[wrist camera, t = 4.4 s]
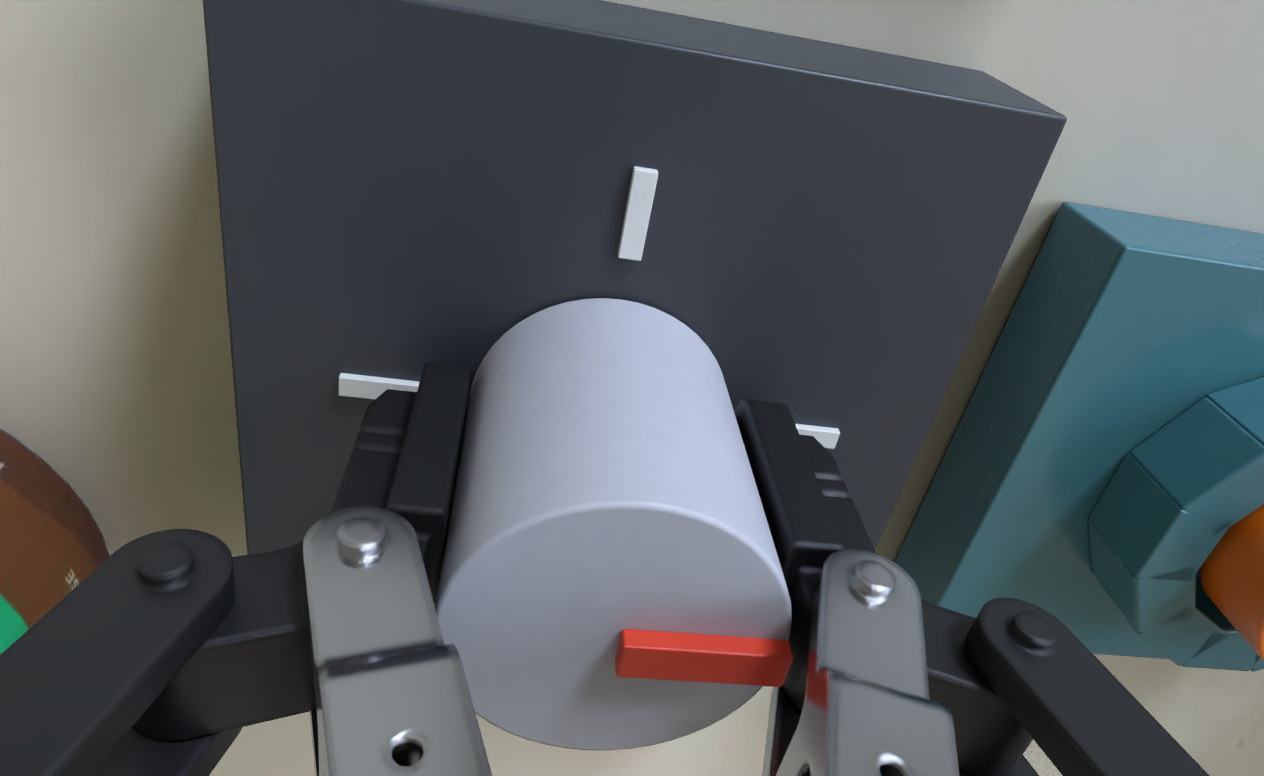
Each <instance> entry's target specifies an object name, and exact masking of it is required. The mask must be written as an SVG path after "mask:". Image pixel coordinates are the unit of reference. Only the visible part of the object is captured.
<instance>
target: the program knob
mask: <svg viewBox="0 0 1264 776" xmlns="http://www.w3.org/2000/svg"><path fill="white" fill-rule="evenodd" d="M435 610H436V614H437V618H438V622H439V626H440V630H441V634H442V637H443V641H444V643H445V644H451V643H453V644H454V645H455V646H456V648H457V650H458V653H459V655H460V658H461V662H462V665H463V669H464V673H465V677H466V680H467V684H468V688H469V691H470V695H471V699H472V703H473V706H474V710H475V713H476V714H477V715H479V716H480V717H482V718H483V719H485V720H486V721H488V722H490V723H491V724H493V725H495V726H497V727H499V728H501V729H503V730H505V731H507V732H509V733H511V734H514V735H517V736H519V737H522V738H525V739H527V740H531V741H535V742H539V743H542V744H546V745H551V746H557V747H563V748H570V749H581V750H618V749H631V748H637V747H644V746H650V745H654V744H658V743H663V742H667V741H671V740H674V739H677V738H680V737H683V736H686V735H689V734H692V733H694V732H696V731H699V730H701V729H703V728H706V727H708V726H710V725H712V724H714V723H715V722H717V721H719V720H721V719H723V718H725V717H726V716H728V715H729V714H731V713H732V712H734V711H735V710H737V709H738V708H740V707H741V706H742V705H743V704H745V703H746V702H747V701H748V700H749V699H750V698H752V697H753V696H754V695H755V694H756V693H757V692H758V691H759V690H760V689H761V688H762V687H763V686H772V687H781V686H782V685H783V683H784V680H785V678H786V675H787V673H788V671H789V668H790V666H791V663H792V661H793V654H792V651H791V647H790V644H789V641H788V640H789V636H790V630H791V622H792V610H791V600H790V596H789V592H788V589H787V585H786V582H785V578H784V575H783V572H782V568H781V565H780V562H779V558H778V555H777V552H776V549H775V545H774V542H773V539H772V535H771V532H770V529H769V526H768V522H767V519H766V516H765V512H764V509H763V506H762V502H761V499H760V496H759V493H758V489H757V486H756V483H755V479H754V476H753V473H752V469H751V466H750V463H749V460H748V456H747V453H746V450H745V446H744V443H743V440H742V437H741V433H740V430H739V427H738V423H737V420H736V417H735V413H734V410H733V407H732V404H731V400H730V397H729V394H728V390H727V387H726V384H725V380H724V377H723V374H722V371H721V369H720V367H719V365H718V362H717V360H716V358H715V357H714V355H713V354H712V352H711V351H710V349H709V348H708V346H707V345H706V344H705V343H704V342H703V341H702V339H701V338H700V337H699V336H698V335H697V334H696V333H695V332H693V331H692V330H691V329H690V328H689V327H688V326H686V325H685V324H684V323H682V322H680V321H679V320H677V319H676V318H674V317H673V316H671V315H669V314H667V313H664V312H662V311H660V310H658V309H656V308H653V307H650V306H647V305H644V304H641V303H637V302H632V301H627V300H622V299H608V298H595V299H582V300H576V301H570V302H565V303H562V304H558V305H555V306H552V307H549V308H546V309H544V310H542V311H539V312H537V313H535V314H533V315H531V316H529V317H528V318H526V319H524V320H522V321H521V322H519V323H517V324H516V325H515V326H514V327H512V328H511V329H510V330H508V331H507V332H506V333H505V334H504V335H503V336H502V337H501V338H500V339H499V340H498V341H497V342H496V343H495V344H494V345H493V346H492V347H491V349H490V350H489V351H488V353H487V354H486V356H485V357H484V358H483V360H482V362H481V364H480V366H479V368H478V370H477V372H476V374H475V377H474V380H473V383H472V386H471V392H470V398H469V404H468V410H467V416H466V422H465V428H464V434H463V440H462V446H461V452H460V458H459V464H458V470H457V476H456V482H455V488H454V494H453V500H452V506H451V512H450V518H449V524H448V530H447V536H446V542H445V548H444V554H443V560H442V566H441V572H440V578H439V584H438V590H437V596H436V602H435Z"/></svg>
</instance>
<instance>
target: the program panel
mask: <svg viewBox="0 0 1264 776" xmlns="http://www.w3.org/2000/svg"><path fill="white" fill-rule="evenodd" d="M203 7H204V20H205V32H206V44H207V57H208V69H209V82H210V94H211V106H212V119H213V131H214V144H215V156H216V168H217V181H218V193H219V205H220V218H221V230H222V243H223V255H224V267H225V280H226V292H227V305H228V317H229V329H230V342H231V354H232V366H233V379H234V391H235V404H236V416H237V428H238V441H239V453H240V466H241V478H242V490H243V503H244V515H245V527H246V540H247V552H248V555H251V554H257V553H264V552H270V551H275V550H280V549H283V548H286V547H290V546H292V545H295V544H297V543H299V542H301V541H303V540H304V538H305V535H306V534H307V532H308V530H309V529H310V528H311V527H312V525H313V524H314V523H316V522H317V521H318V520H319V519H321V518H322V517H324V516H326V515H327V514H330V513H331V511H332V508H333V505H334V502H335V499H336V496H337V493H338V491H339V488H340V485H341V482H342V479H343V476H344V473H345V470H346V467H347V464H348V461H349V458H350V455H351V453H352V450H353V449H354V444H355V441H356V438H357V435H358V432H360V426H361V423H362V420H363V418H364V415H365V412H366V409H367V406H368V405H369V404H371V403H372V402H373V401H374V400H375V399H376V398H378V397H379V396H380V395H381V394H382V393H383V392H385V391H386V390H387V389H391V390H401V391H410V392H417V390H418V386H419V382H420V379H421V375H422V371H423V367H424V364H425V362H429V363H437V364H446V365H455V366H464V367H471V374H470V386H469V397H468V404H469V398H470V392H471V386H472V383H473V380H474V377H475V374H476V372H477V370H478V368H479V366H480V364H481V362H482V360H483V358H484V357H485V356H486V354H487V353H488V351H489V350H490V349H491V347H492V346H493V345H494V344H495V343H496V342H497V341H498V340H499V339H500V338H501V337H502V336H503V335H504V334H505V333H506V332H507V331H508V330H510V329H511V328H512V327H514V326H515V325H516V324H517V323H519V322H521V321H522V320H524V319H526V318H528V317H529V316H531V315H533V314H535V313H537V312H539V311H542V310H544V309H546V308H549V307H552V306H555V305H558V304H562V303H565V302H570V301H576V300H582V299H595V298H608V299H622V300H627V301H632V302H637V303H641V304H644V305H647V306H650V307H653V308H656V309H658V310H660V311H662V312H664V313H667V314H669V315H671V316H673V317H674V318H676V319H677V320H679V321H680V322H682V323H684V324H685V325H686V326H688V327H689V328H690V329H691V330H692V331H693V332H695V333H696V334H697V335H698V336H699V337H700V338H701V339H702V341H703V342H704V343H705V344H706V345H707V346H708V348H709V349H710V351H711V352H712V354H713V355H714V357H715V358H716V360H717V362H718V365H719V367H720V369H721V371H722V374H723V377H724V380H725V384H726V387H727V390H728V394H729V397H730V400H731V404H732V407H733V410H734V413H735V412H736V409H737V406H738V404H739V403H740V401H741V400H743V399H747V400H755V401H764V402H773V403H782V404H786V405H787V406H788V408H789V410H790V413H791V415H792V418H793V420H794V423H795V425H796V428H797V430H798V433H799V435H808V436H813V437H814V438H815V439H816V440H817V441H818V442H819V443H820V444H821V445H822V446H823V447H824V448H825V449H826V450H827V451H828V452H829V453H830V454H831V455H832V456H833V457H834V460H835V462H836V464H837V466H838V469H839V471H840V473H841V475H842V481H844V482H845V484H846V487H847V489H848V491H849V493H850V496H849V498H850V499H852V500H853V502H854V505H855V507H856V509H857V511H858V514H859V516H860V518H861V520H862V523H863V525H864V527H865V530H866V532H867V534H868V536H869V539H870V541H871V543H872V545H873V548H874V550H875V548H876V546H877V544H878V542H879V540H880V537H881V535H882V533H883V531H884V528H885V526H886V524H887V522H888V519H889V517H890V515H891V513H892V510H893V508H894V506H895V504H896V501H897V499H898V497H899V495H900V493H901V490H902V488H903V486H904V484H905V481H906V479H907V477H908V475H909V472H910V470H911V468H912V466H913V463H914V461H915V459H916V457H917V454H918V452H919V450H920V448H921V445H922V443H923V441H924V439H925V437H926V434H927V432H928V430H929V428H930V425H931V423H932V421H933V419H934V416H935V414H936V412H937V410H938V407H939V405H940V403H941V401H942V398H943V396H944V394H945V392H946V389H947V387H948V385H949V383H950V381H951V378H952V376H953V374H954V372H955V369H956V367H957V365H958V363H959V360H960V358H961V356H962V354H963V351H964V349H965V347H966V345H967V342H968V340H969V338H970V336H971V333H972V331H973V329H974V327H975V325H976V322H977V320H978V318H979V316H980V313H981V311H982V309H983V307H984V304H985V302H986V300H987V298H988V295H989V293H990V291H991V289H992V286H993V284H994V282H995V280H996V277H997V275H998V273H999V271H1000V269H1001V266H1002V264H1003V262H1004V260H1005V257H1006V255H1007V253H1008V251H1009V248H1010V246H1011V244H1012V242H1013V239H1014V237H1015V235H1016V233H1017V230H1018V228H1019V226H1020V224H1021V221H1022V219H1023V217H1024V215H1025V213H1026V210H1027V208H1028V206H1029V204H1030V201H1031V199H1032V197H1033V195H1034V192H1035V190H1036V188H1037V186H1038V183H1039V181H1040V179H1041V177H1042V174H1043V172H1044V170H1045V168H1046V166H1047V163H1048V161H1049V159H1050V157H1051V154H1052V152H1053V150H1054V148H1055V145H1056V143H1057V141H1058V139H1059V136H1060V134H1061V132H1062V130H1063V127H1064V125H1065V123H1066V119H1067V118H1066V117H1065V116H1064V115H1062V114H1060V113H1058V112H1056V111H1055V110H1053V109H1051V108H1049V107H1047V106H1045V105H1043V104H1042V103H1040V102H1038V101H1036V100H1034V99H1032V98H1031V97H1029V96H1027V95H1025V94H1023V93H1021V92H1019V91H1018V90H1016V89H1014V88H1012V87H1010V86H1008V85H1007V84H1005V83H1003V82H1001V81H999V80H997V79H995V78H994V77H992V76H990V75H988V74H986V73H984V72H982V71H978V70H972V69H967V68H962V67H956V66H951V65H946V64H940V63H935V62H929V61H924V60H919V59H913V58H908V57H903V56H897V55H892V54H886V53H881V52H876V51H870V50H865V49H860V48H854V47H849V46H843V45H838V44H833V43H827V42H822V41H817V40H811V39H806V38H800V37H795V36H790V35H784V34H779V33H774V32H768V31H763V30H757V29H752V28H747V27H741V26H736V25H731V24H725V23H720V22H714V21H709V20H704V19H698V18H693V17H688V16H682V15H677V14H671V13H666V12H661V11H655V10H650V9H645V8H639V7H634V6H628V5H623V4H618V3H612V2H607V1H602V0H203ZM467 410H468V407H467Z"/></svg>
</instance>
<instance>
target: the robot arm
mask: <svg viewBox="0 0 1264 776" xmlns="http://www.w3.org/2000/svg"><path fill="white" fill-rule="evenodd" d="M470 374H471V367H464V366H455V365H446V364H437V363H429V362H425V364H424V367H423V371H422V375H421V379H420V382H419V386H418V390H417V392H410V391H401V390H391V389H387V390H386V391H385V392H383V393H382V394H381V395H380V396H379V397H378V398H376V399H375V400H374V401H373V402H372V403H371V404H369V405H368V406H367V409H366V412H365V415H364V418H363V420H362V423H361V426H360V432H358V435H357V438H356V441H355V444H354V449H353V450H352V453H351V455H350V458H349V461H348V464H347V467H346V470H345V473H344V476H343V479H342V482H341V485H340V488H339V491H338V493H337V496H336V499H335V502H334V505H333V508H332V511H331V513H330V514H327V515H326V516H324V517H322V518H321V519H319V520H318V521H317V522H316V523H314V524H313V525H312V527H311V528H310V529H309V530H308V532H307V534H306V535H305V538H304V540H303V541H301V542H299V543H297V544H295V545H292V546H290V547H286V548H283V549H280V550H275V551H270V552H264V553H257V554H251V555H244V556H237V557H232V555H231V552H230V550H229V548H228V547H227V545H226V544H225V543H224V542H222V541H221V540H220V539H218V538H217V537H215V536H213V535H211V534H208V533H205V532H201V531H197V530H188V529H173V530H165V531H160V532H155V533H151V534H148V535H145V536H142V537H140V538H137V539H135V540H133V541H131V542H129V543H127V544H126V545H124V546H122V547H121V548H119V549H118V550H117V551H116V552H114V553H113V554H112V555H111V556H110V557H109V558H108V559H106V560H105V561H104V562H103V563H102V564H101V565H100V566H99V567H98V568H96V569H95V570H94V571H93V572H92V573H91V574H90V575H89V576H88V577H86V578H85V579H84V580H83V581H82V582H81V583H80V584H79V585H77V586H76V587H75V588H74V589H73V590H72V591H71V592H70V593H69V594H67V595H66V596H65V597H64V598H63V599H62V600H61V601H60V602H59V603H57V604H56V605H55V606H54V607H53V608H52V609H51V610H50V611H49V612H47V613H46V614H45V615H44V616H43V617H42V618H41V619H40V620H39V621H37V622H36V623H35V624H34V625H33V626H32V627H31V628H30V629H29V630H27V631H26V632H25V633H24V634H23V635H22V636H21V637H20V638H19V639H17V640H16V641H15V642H14V643H13V644H12V645H11V646H10V647H9V648H7V649H6V650H5V651H4V652H3V653H2V654H1V655H0V776H209V774H210V773H211V772H212V770H213V769H214V767H215V766H216V765H217V763H218V762H219V761H220V759H221V758H222V756H223V755H224V754H225V752H226V751H227V749H228V748H229V747H230V745H231V744H232V742H233V741H234V740H235V738H236V737H237V736H238V734H239V732H240V731H241V729H242V727H243V726H248V725H252V724H257V723H261V722H265V721H270V720H274V719H278V718H283V717H287V716H291V715H296V714H300V713H304V712H309V711H310V721H311V732H312V743H313V754H314V765H315V776H492V774H491V770H490V766H489V762H488V759H487V755H486V751H485V747H484V744H483V740H482V736H481V733H480V729H479V725H478V721H477V718H476V714H475V710H474V706H473V703H472V699H471V695H470V691H469V688H468V684H467V680H466V677H465V673H464V669H463V665H462V662H461V658H460V655H459V653H458V650H457V648H456V646H455V645H454V644H453V643H451V644H445V643H444V641H443V637H442V634H441V630H440V626H439V622H438V618H437V614H436V610H435V602H436V596H437V590H438V584H439V578H440V572H441V566H442V560H443V554H444V548H445V542H446V536H447V530H448V524H449V518H450V512H451V506H452V500H453V494H454V488H455V482H456V476H457V470H458V464H459V458H460V452H461V446H462V440H463V434H464V428H465V422H466V416H467V407H468V397H469V386H470ZM735 417H736V420H737V423H738V427H739V430H740V433H741V437H742V440H743V443H744V446H745V450H746V453H747V456H748V460H749V463H750V466H751V469H752V473H753V476H754V479H755V483H756V486H757V489H758V493H759V496H760V499H761V502H762V506H763V509H764V512H765V516H766V519H767V522H768V526H769V529H770V532H771V535H772V539H773V542H774V545H775V549H776V552H777V555H778V558H779V562H780V565H781V568H782V572H783V575H784V578H785V582H786V585H787V589H788V592H789V596H790V600H791V610H792V622H791V630H790V636H789V640H788V641H789V644H790V647H791V651H792V654H793V661H792V663H791V666H790V668H789V671H788V673H787V675H786V678H785V680H784V683H783V685H782V686H781V687H774V688H773V691H772V695H771V703H770V712H769V721H768V730H767V738H766V747H765V756H764V765H763V773H762V776H1039V775H1038V774H1037V772H1036V771H1035V770H1034V769H1033V767H1032V766H1031V765H1030V763H1029V762H1028V761H1027V760H1026V758H1025V757H1024V756H1023V753H1024V752H1025V750H1026V749H1027V747H1028V746H1029V744H1030V743H1031V741H1032V740H1033V739H1034V740H1035V742H1036V743H1037V744H1038V745H1039V747H1040V748H1041V749H1042V750H1043V752H1044V753H1045V754H1046V755H1047V756H1048V758H1049V759H1050V760H1051V761H1052V763H1053V764H1054V765H1055V766H1056V768H1057V769H1058V770H1059V771H1060V773H1061V774H1062V775H1063V776H1209V775H1208V774H1207V773H1206V772H1205V771H1204V770H1203V769H1202V767H1201V766H1200V765H1199V764H1198V763H1197V762H1196V761H1195V760H1194V759H1193V758H1192V757H1191V756H1190V755H1189V754H1188V753H1187V752H1186V751H1185V750H1184V749H1183V748H1182V747H1181V746H1180V745H1179V743H1178V742H1177V741H1176V740H1175V739H1174V738H1173V737H1172V736H1171V735H1170V734H1169V733H1168V732H1167V731H1166V730H1165V729H1164V728H1163V727H1162V726H1161V725H1160V724H1159V723H1158V722H1157V721H1156V719H1155V718H1154V717H1153V716H1152V715H1151V714H1150V713H1149V712H1148V711H1147V710H1146V709H1145V708H1144V707H1143V706H1142V705H1141V704H1140V703H1139V702H1138V701H1137V700H1136V699H1135V698H1134V697H1133V695H1132V694H1131V693H1130V692H1129V691H1128V690H1127V689H1126V688H1125V687H1124V686H1123V685H1122V684H1121V683H1120V682H1119V681H1118V680H1117V679H1116V678H1115V677H1114V676H1113V675H1112V674H1111V673H1110V671H1109V670H1108V669H1107V668H1106V667H1105V666H1104V665H1103V664H1102V663H1101V662H1100V661H1099V660H1098V659H1097V658H1096V657H1095V656H1094V655H1093V654H1092V653H1091V652H1090V651H1089V650H1088V649H1087V647H1086V646H1085V645H1084V644H1083V643H1082V642H1081V641H1080V640H1079V639H1078V638H1077V637H1076V636H1075V635H1074V634H1073V633H1072V632H1071V631H1070V630H1069V629H1068V628H1067V627H1066V626H1065V625H1064V624H1063V623H1062V622H1061V621H1060V620H1058V619H1057V618H1056V617H1055V616H1053V615H1052V614H1050V613H1049V612H1047V611H1045V610H1044V609H1042V608H1040V607H1038V606H1036V605H1033V604H1031V603H1029V602H1026V601H1022V600H1019V599H1014V598H996V599H992V600H990V601H988V602H986V603H985V604H984V605H983V607H982V608H981V610H980V612H979V614H978V615H977V617H976V618H974V617H970V616H967V615H964V614H961V613H958V612H955V611H952V610H949V609H946V608H943V607H940V606H937V605H934V604H931V603H929V602H926V601H924V600H922V599H921V596H920V592H919V589H918V587H917V585H916V583H915V582H914V580H913V579H912V578H911V577H910V575H909V574H908V573H907V572H906V571H905V570H903V569H902V568H901V567H900V566H899V565H897V564H896V563H894V562H893V561H891V560H889V559H888V558H886V557H883V556H881V555H879V554H876V552H875V550H874V548H873V545H872V543H871V541H870V539H869V536H868V534H867V532H866V530H865V527H864V525H863V523H862V520H861V518H860V516H859V514H858V511H857V509H856V507H855V505H854V502H853V500H852V499H850V498H849V496H850V493H849V491H848V489H847V487H846V484H845V482H844V481H842V475H841V473H840V471H839V469H838V466H837V464H836V462H835V460H834V457H833V456H832V455H831V454H830V453H829V452H828V451H827V450H826V449H825V448H824V447H823V446H822V445H821V444H820V443H819V442H818V441H817V440H816V439H815V438H814V437H813V436H808V435H799V433H798V430H797V428H796V425H795V423H794V420H793V418H792V415H791V413H790V410H789V408H788V406H787V405H786V404H782V403H773V402H764V401H755V400H747V399H743V400H741V401H740V403H739V404H738V406H737V409H736V412H735Z"/></svg>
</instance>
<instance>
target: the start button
mask: <svg viewBox="0 0 1264 776" xmlns="http://www.w3.org/2000/svg"><path fill="white" fill-rule="evenodd" d="M1200 578H1201V584H1202V587H1203V590H1204V591H1205V593H1206V595H1207V596H1208V597H1209V599H1210V600H1211V601H1212V602H1213V603H1214V604H1215V606H1216V607H1217V608H1218V609H1219V610H1220V611H1221V613H1222V614H1223V615H1224V616H1225V617H1226V618H1227V619H1228V621H1229V622H1230V623H1231V624H1232V625H1233V626H1234V628H1235V629H1236V630H1237V631H1238V632H1239V633H1240V635H1241V636H1242V637H1243V638H1244V639H1245V640H1246V642H1247V643H1248V644H1249V645H1250V646H1251V647H1252V649H1253V650H1254V651H1255V652H1256V653H1257V654H1258V656H1259V657H1260V658H1261V659H1262V660H1263V661H1264V505H1262V506H1261V507H1259V508H1258V509H1256V510H1255V511H1253V512H1252V513H1250V514H1249V515H1247V516H1246V517H1244V518H1243V519H1241V520H1240V521H1238V522H1237V523H1235V524H1234V525H1232V526H1231V527H1229V529H1228V530H1227V531H1226V533H1225V534H1224V536H1223V537H1222V538H1221V540H1220V541H1219V542H1218V544H1217V545H1216V547H1215V548H1214V549H1213V551H1212V552H1211V553H1210V555H1209V556H1208V557H1207V559H1206V560H1205V562H1204V563H1203V564H1202V566H1201V570H1200Z"/></svg>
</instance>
